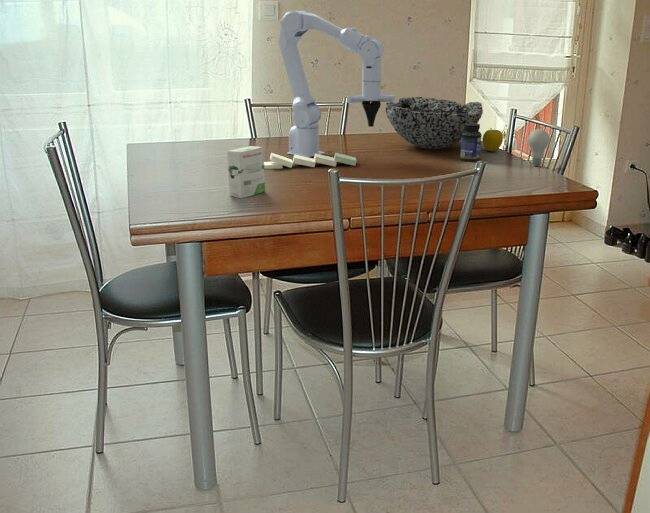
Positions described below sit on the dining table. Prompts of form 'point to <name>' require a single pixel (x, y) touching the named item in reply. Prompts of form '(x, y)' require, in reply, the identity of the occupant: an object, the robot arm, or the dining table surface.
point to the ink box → (246, 171)
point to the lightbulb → (538, 145)
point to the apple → (492, 140)
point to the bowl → (431, 120)
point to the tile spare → (345, 159)
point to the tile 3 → (303, 160)
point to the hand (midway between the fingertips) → (370, 126)
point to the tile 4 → (324, 160)
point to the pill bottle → (470, 142)
